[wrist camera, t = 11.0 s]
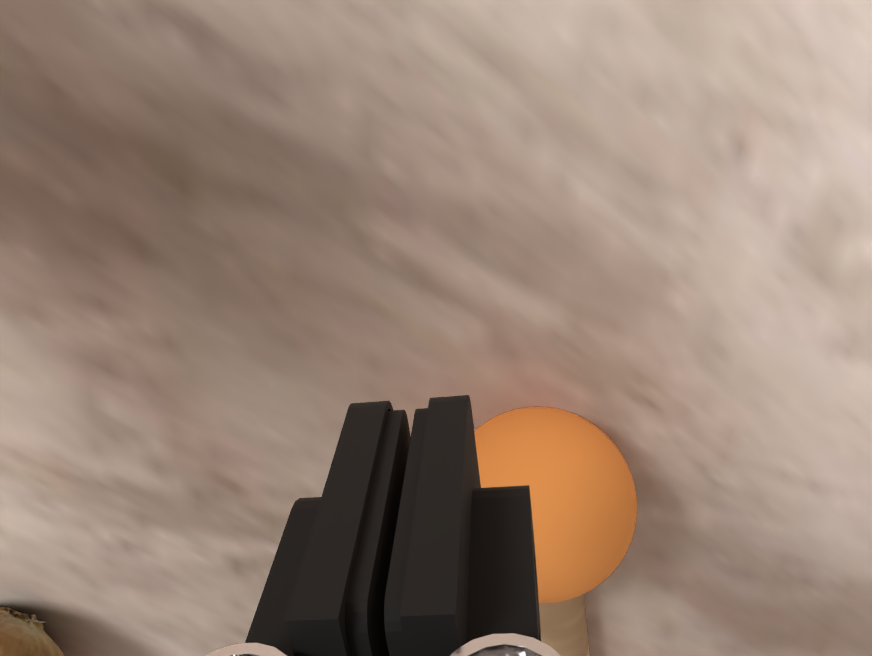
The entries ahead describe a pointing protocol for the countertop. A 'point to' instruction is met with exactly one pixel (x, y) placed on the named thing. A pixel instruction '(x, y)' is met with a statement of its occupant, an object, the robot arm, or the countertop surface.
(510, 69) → the countertop surface
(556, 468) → the ball
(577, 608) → the maple pin
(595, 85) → the countertop surface
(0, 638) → the onion
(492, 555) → the robot arm
